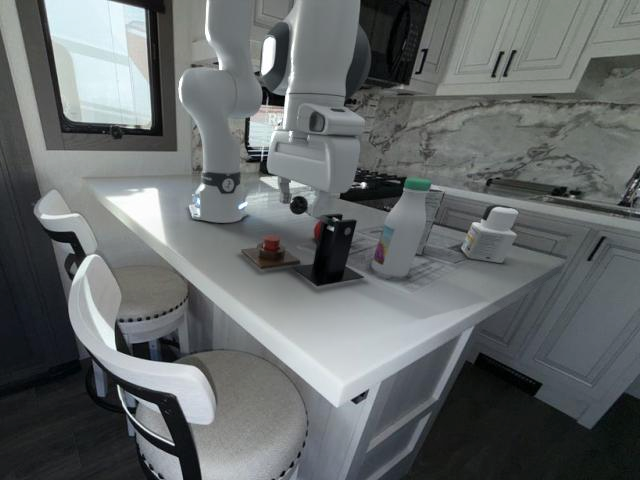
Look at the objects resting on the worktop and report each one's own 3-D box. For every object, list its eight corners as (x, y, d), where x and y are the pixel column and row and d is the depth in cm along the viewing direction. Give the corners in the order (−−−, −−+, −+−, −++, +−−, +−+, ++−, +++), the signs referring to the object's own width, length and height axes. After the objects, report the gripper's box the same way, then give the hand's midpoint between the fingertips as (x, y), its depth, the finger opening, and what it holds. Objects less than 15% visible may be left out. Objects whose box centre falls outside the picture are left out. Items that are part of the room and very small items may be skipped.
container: (460, 248, 86) (481, 201, 79) (492, 253, 84) (516, 205, 77) (467, 258, 80) (491, 208, 73) (502, 263, 78) (529, 212, 71)
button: (260, 246, 70) (261, 236, 69) (273, 245, 72) (274, 234, 70) (267, 252, 68) (268, 241, 66) (281, 250, 69) (283, 239, 68)
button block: (241, 255, 73) (241, 241, 71) (277, 251, 77) (278, 238, 75) (260, 273, 65) (261, 258, 64) (299, 267, 69) (301, 252, 67)
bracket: (316, 290, 60) (329, 226, 53) (291, 271, 67) (300, 213, 60) (362, 281, 64) (380, 222, 58) (335, 264, 71) (347, 209, 65)
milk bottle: (409, 272, 70) (443, 180, 60) (403, 284, 64) (440, 184, 54) (374, 263, 74) (401, 174, 63) (366, 273, 68) (394, 178, 58)
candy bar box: (392, 239, 90) (411, 180, 81) (410, 241, 89) (431, 182, 81) (402, 253, 80) (424, 188, 72) (422, 255, 80) (447, 190, 71)
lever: (292, 212, 52) (302, 195, 51) (283, 208, 55) (291, 191, 54) (342, 239, 60) (351, 224, 59) (332, 233, 63) (340, 219, 62)
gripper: (262, 116, 54) (256, 197, 61) (338, 119, 38) (318, 227, 45) (292, 118, 56) (283, 195, 64) (375, 122, 41) (351, 224, 48)
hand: (298, 209), depth 54 cm, fingers open, 8 cm apart
